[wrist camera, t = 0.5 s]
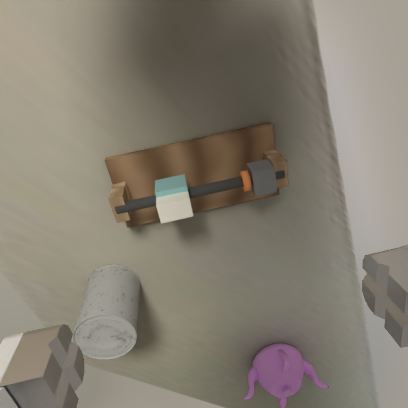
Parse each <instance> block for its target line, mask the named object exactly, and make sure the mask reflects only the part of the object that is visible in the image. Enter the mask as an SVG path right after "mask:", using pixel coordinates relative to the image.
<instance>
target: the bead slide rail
mask: <svg viewBox="0 0 408 408" xmlns="http://www.w3.org/2000/svg"><path fill="white" fill-rule="evenodd" d="M246 165H247V170H245V171H241V172H240V177H236V178H231V179H226V180H222V181H217V182H213V183H208V184H203V185H199V186H194V187H189V188H188V193H189V197H190V198H195V197H199V196H204V195H209V194H213V193H218V192H223V191H227V190H232V189H236V188H241V187H242V188H243V191H244V192H245V191H249V190H252V192H253V193H254V195H255V197H256V196H261V195H265V194H270V193H275V192H277V186H276V180H277V179H282V178H285V172H284V170H282V171H278V172H275V167H274V166H273V165H272V164H271V163H270V162H269V161H268V159H265V160H260V161H255V162H251V163H246ZM153 206H156V195H152V196H148V197H143V198H139V199H134V200H129V201H125V205H121V206H116V207H115V210H116V213H117V214H121V213H125V212H130V211H135V210H140V209H144V208H149V207H153Z"/></svg>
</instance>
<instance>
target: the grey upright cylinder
mask: <svg viewBox="0 0 408 408" xmlns="http://www.w3.org/2000/svg"><path fill="white" fill-rule="evenodd" d="M139 293H140V280H139V277H138V276H137V274H136V273H135V272H134V271H133V270H131V269H130V268H128V267H125V266H122V265H117V264H110V265H105V266H102V267H100V268H98V269H96V270H95V271H94V272H93V273H92V274H91V275H90V277H89V279H88V284H87V288H86V291H85V295H84V298H83V302H82V305H81V309H80V312H79V316H78V320H77V323H76V327H75V329H74V331H73V343H75V344H76V345H78V346H79V347H80V349H81V351H82V353H83V354H84V355H86V356H88V357H91V358H95V359H102V360H106V359H114V358H118V357H121V356H123V355H125V354H126V353H128V352H129V351H130V350H131V349H132V348H133V347H134V345H135V343H136V340H137V320H138V307H139Z"/></svg>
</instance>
